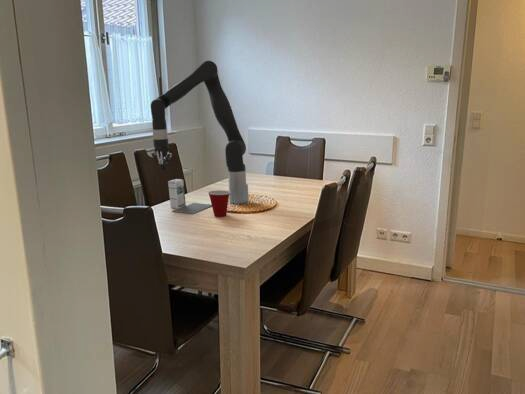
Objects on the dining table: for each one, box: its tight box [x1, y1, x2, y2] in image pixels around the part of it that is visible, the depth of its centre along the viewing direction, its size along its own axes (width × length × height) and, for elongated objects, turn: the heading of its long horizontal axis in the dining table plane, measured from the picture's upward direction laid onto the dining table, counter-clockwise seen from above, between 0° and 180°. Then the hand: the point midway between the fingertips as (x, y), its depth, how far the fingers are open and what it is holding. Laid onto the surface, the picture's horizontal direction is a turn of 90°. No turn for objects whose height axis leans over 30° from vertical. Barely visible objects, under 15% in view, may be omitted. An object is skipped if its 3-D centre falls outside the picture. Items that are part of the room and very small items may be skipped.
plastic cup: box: [207, 190, 231, 218], centre depth 232 cm, size 11×11×12 cm
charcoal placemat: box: [172, 202, 212, 215], centre depth 248 cm, size 13×18×1 cm
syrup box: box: [167, 178, 187, 209], centre depth 251 cm, size 6×6×14 cm
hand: (163, 170), depth 253 cm, fingers closed
